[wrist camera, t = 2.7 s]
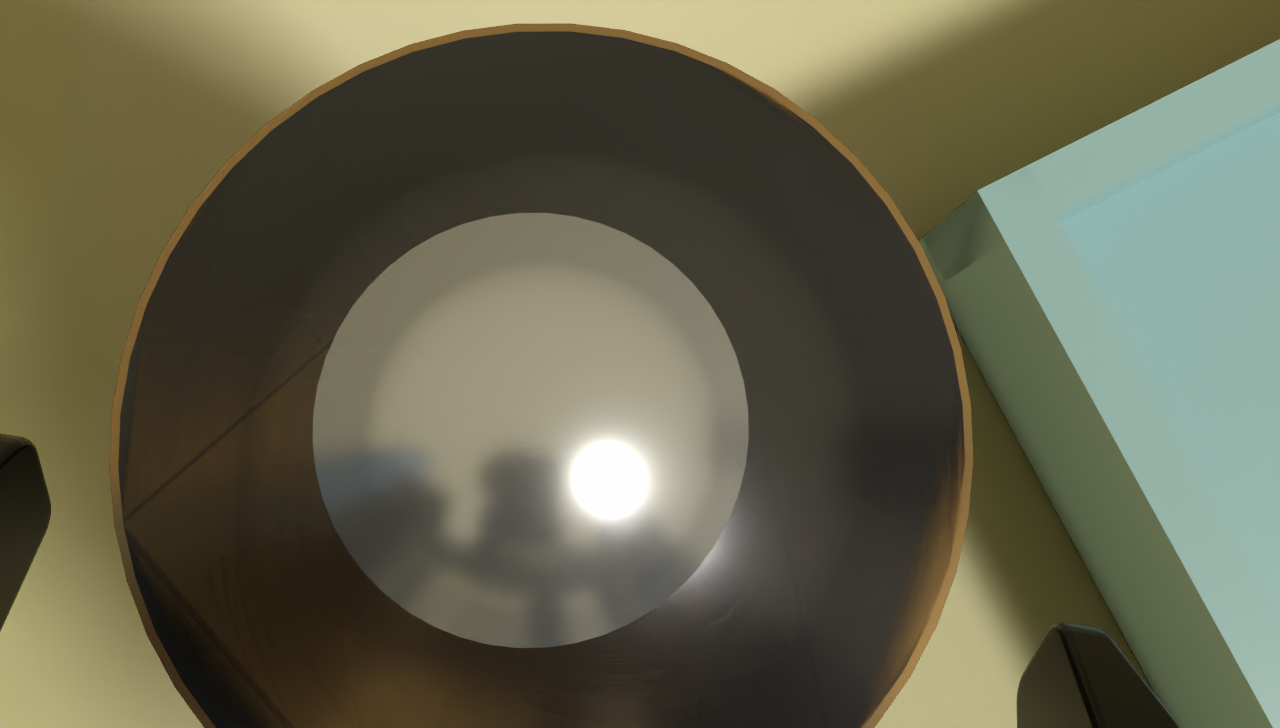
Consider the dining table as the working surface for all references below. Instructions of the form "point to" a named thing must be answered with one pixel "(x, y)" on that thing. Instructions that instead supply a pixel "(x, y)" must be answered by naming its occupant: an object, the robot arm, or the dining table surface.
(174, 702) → the dining table surface
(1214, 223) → the tray
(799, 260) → the cylinder
